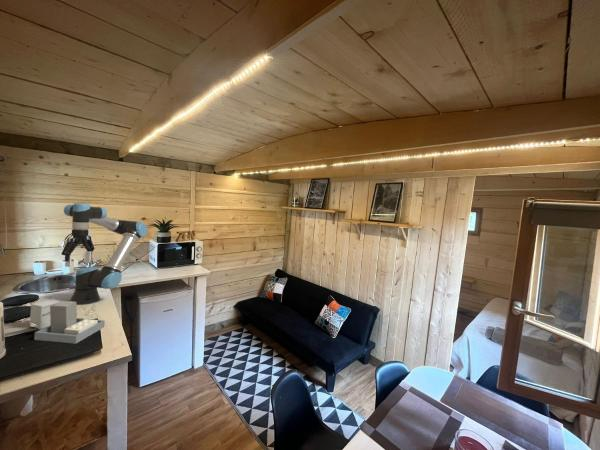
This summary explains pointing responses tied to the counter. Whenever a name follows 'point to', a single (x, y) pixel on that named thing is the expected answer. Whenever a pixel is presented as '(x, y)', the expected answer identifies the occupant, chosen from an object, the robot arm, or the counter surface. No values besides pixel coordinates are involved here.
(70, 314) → the skincare box
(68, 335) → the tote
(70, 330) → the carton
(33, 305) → the supplement box
